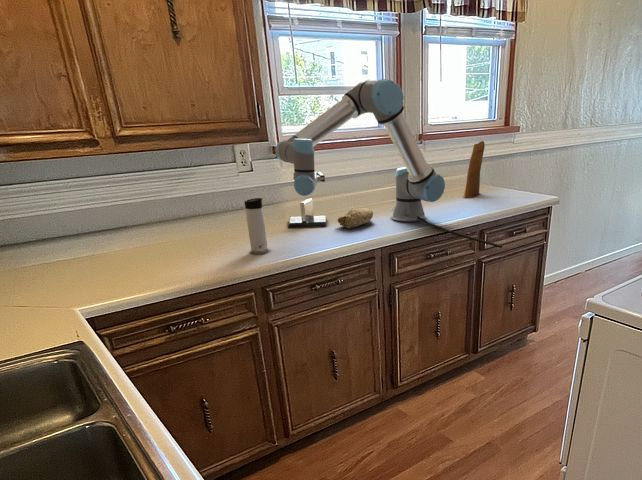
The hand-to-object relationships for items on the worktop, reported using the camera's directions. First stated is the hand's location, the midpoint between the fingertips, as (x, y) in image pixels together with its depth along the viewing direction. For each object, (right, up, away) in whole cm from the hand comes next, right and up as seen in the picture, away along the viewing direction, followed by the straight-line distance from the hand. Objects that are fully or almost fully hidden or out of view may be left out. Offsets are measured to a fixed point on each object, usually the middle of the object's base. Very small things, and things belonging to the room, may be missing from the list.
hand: (312, 171), depth 223 cm
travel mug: (-16, -40, -25) cm, 50 cm away
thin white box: (-4, -17, +12) cm, 21 cm away
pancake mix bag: (+79, +11, +68) cm, 105 cm away
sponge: (+18, -20, +12) cm, 29 cm away
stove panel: (-4, -19, +13) cm, 23 cm away
